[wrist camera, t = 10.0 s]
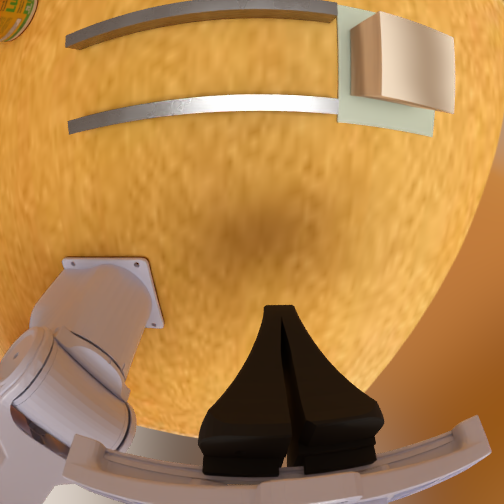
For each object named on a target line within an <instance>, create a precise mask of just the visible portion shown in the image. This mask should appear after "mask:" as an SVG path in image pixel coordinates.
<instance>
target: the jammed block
mask: <svg viewBox="0 0 504 504" xmlns="http://www.w3.org/2000/svg"><path fill="white" fill-rule="evenodd" d="M350 40H351V96H358V97H364V98H371V99H376V100H382V101H387V102H392V103H397V104H402V105H406V106H411V107H416V108H423V109H429V110H435V111H441V112H446V113H451V114H454V104H455V53H454V38H453V37H451V36H449V35H446V34H444V33H442V32H439V31H437V30H435V29H432V28H430V27H427V26H424V25H422V24H419V23H416V22H413V21H411V20H408V19H405V18H402V17H398V16H395V15H392V14H388V13H385V12H381V11H379V12H377V13H376V14H374V15H372V16H371V17H369V18H367V19H366V20H364V21H362V22H361V23H359V24H358V25H356V26H355V27H353V28H352V29H350Z"/></svg>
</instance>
